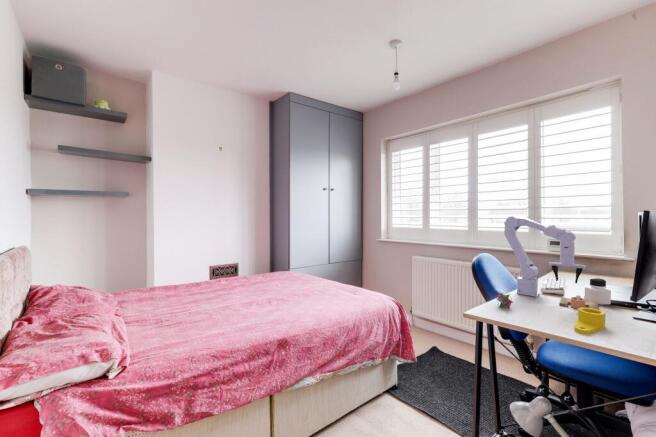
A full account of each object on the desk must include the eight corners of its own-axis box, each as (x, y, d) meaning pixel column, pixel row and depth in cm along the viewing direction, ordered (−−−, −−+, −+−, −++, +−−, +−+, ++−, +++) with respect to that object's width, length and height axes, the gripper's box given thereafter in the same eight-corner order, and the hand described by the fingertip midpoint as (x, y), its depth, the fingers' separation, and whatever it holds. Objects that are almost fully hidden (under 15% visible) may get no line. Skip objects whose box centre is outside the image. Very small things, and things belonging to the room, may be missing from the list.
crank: (581, 319, 130) (581, 306, 129) (607, 326, 123) (608, 311, 122) (566, 330, 119) (567, 315, 119) (594, 337, 112) (594, 321, 112)
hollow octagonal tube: (570, 307, 145) (570, 299, 144) (571, 304, 148) (571, 296, 148) (584, 309, 141) (584, 301, 141) (585, 306, 145) (585, 298, 144)
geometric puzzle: (519, 305, 142) (510, 289, 147) (509, 306, 140) (500, 290, 144) (508, 310, 148) (499, 294, 152) (498, 312, 145) (489, 296, 150)
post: (574, 307, 145) (574, 295, 145) (574, 305, 147) (574, 294, 147) (581, 308, 143) (582, 297, 143) (581, 307, 145) (582, 295, 145)
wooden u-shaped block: (559, 305, 148) (559, 302, 148) (561, 299, 157) (561, 297, 157) (597, 311, 139) (597, 309, 139) (597, 305, 148) (597, 302, 148)
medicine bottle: (610, 304, 148) (611, 280, 148) (596, 304, 148) (596, 280, 148) (598, 300, 155) (598, 277, 155) (584, 300, 156) (584, 277, 155)
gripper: (548, 254, 156) (548, 280, 156) (585, 257, 146) (584, 285, 147) (550, 253, 161) (549, 278, 161) (585, 255, 151) (585, 282, 152)
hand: (566, 281), depth 154 cm, fingers open, 7 cm apart
